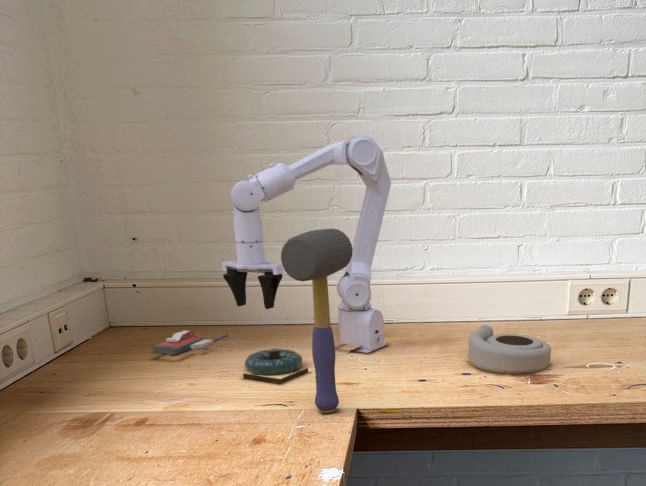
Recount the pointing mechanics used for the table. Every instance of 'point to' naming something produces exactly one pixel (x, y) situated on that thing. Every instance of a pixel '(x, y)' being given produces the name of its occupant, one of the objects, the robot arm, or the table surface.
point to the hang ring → (273, 362)
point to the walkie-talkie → (183, 343)
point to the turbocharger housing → (507, 352)
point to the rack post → (274, 355)
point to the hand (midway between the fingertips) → (255, 306)
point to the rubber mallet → (319, 298)
